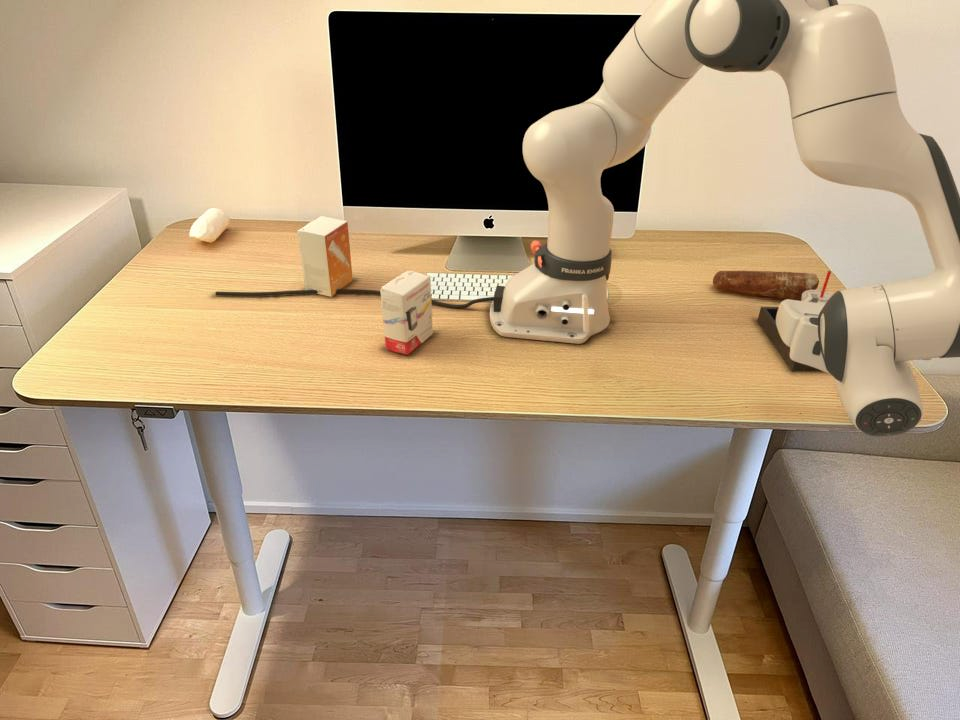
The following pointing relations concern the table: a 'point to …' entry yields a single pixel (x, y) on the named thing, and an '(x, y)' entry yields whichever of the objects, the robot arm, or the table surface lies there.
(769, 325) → the tray
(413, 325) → the ink box
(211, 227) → the roll
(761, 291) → the bread
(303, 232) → the small box
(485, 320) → the table surface
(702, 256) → the table surface
